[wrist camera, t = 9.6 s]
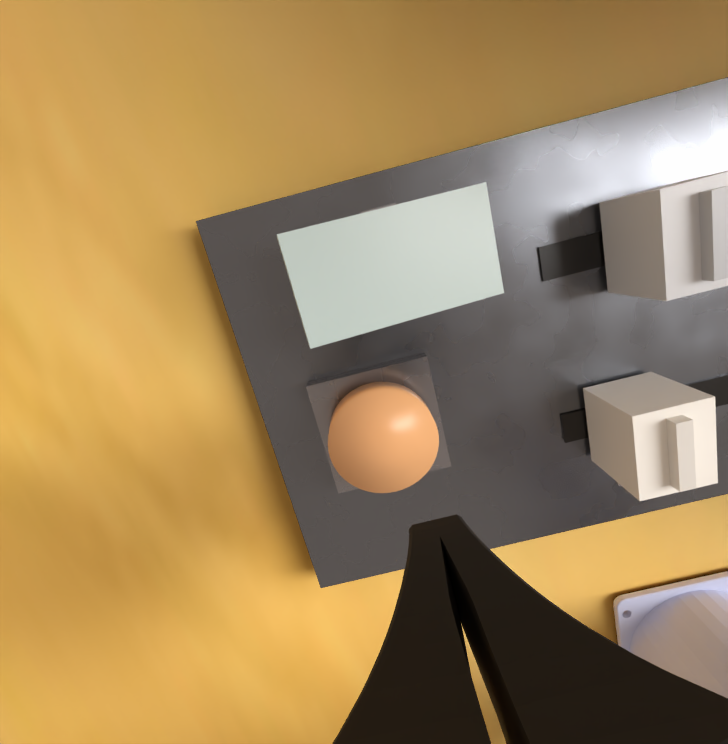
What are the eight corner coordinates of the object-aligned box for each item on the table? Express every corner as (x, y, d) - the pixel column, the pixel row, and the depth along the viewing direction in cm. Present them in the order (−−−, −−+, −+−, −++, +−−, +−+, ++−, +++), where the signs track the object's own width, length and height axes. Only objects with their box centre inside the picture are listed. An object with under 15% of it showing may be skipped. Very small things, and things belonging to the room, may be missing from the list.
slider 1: (680, 274, 17) (770, 279, 14) (608, 292, 18) (677, 302, 14) (675, 182, 16) (771, 160, 13) (599, 202, 17) (671, 186, 13)
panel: (890, 434, 22) (952, 454, 19) (322, 567, 23) (319, 600, 21) (927, 29, 17) (1014, -5, 15) (208, 224, 18) (188, 219, 16)
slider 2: (656, 444, 19) (729, 489, 16) (591, 460, 20) (648, 508, 16) (650, 371, 19) (727, 401, 15) (583, 388, 19) (641, 421, 15)
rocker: (489, 291, 17) (504, 292, 16) (308, 343, 16) (310, 348, 15) (471, 188, 16) (486, 181, 15) (276, 237, 15) (276, 234, 14)
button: (438, 456, 19) (448, 478, 17) (344, 479, 19) (344, 503, 17) (418, 365, 18) (426, 378, 16) (318, 390, 18) (314, 406, 16)
